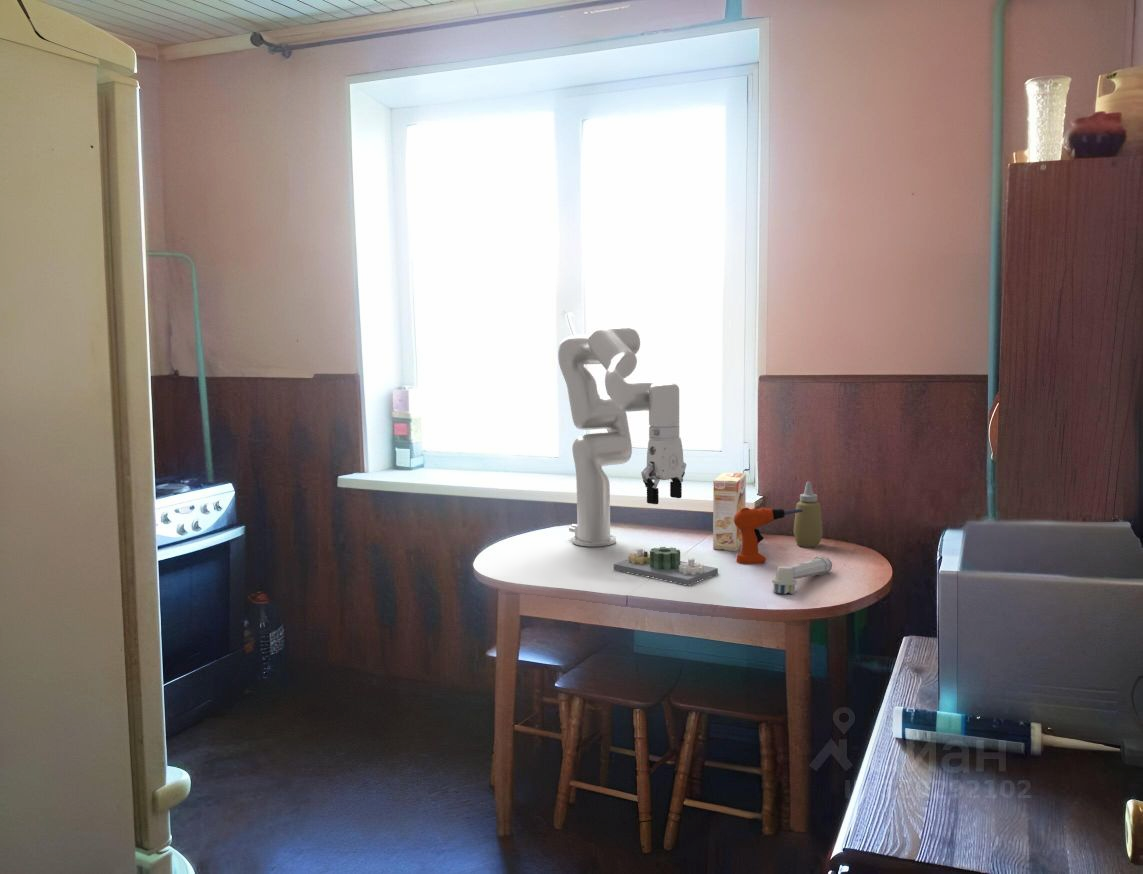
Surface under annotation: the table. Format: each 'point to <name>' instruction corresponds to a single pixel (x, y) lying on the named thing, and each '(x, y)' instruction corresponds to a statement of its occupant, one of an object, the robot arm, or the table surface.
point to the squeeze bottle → (808, 519)
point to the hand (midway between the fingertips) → (664, 500)
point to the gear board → (683, 574)
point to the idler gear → (664, 558)
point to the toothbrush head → (799, 573)
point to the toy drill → (755, 531)
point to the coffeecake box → (728, 510)
